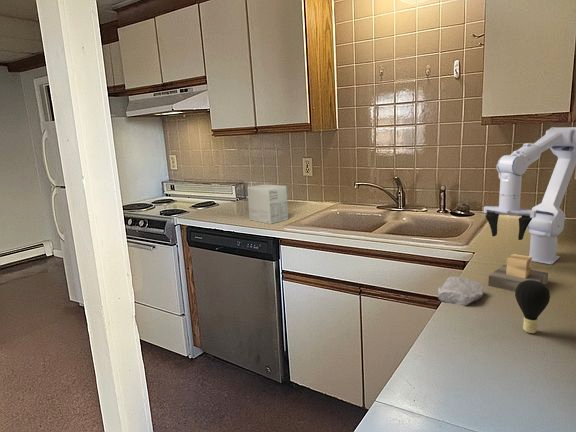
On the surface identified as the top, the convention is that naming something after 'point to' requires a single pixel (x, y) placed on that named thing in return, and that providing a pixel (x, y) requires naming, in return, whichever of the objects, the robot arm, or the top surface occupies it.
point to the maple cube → (519, 266)
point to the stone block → (460, 291)
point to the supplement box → (268, 203)
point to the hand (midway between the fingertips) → (507, 237)
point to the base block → (513, 279)
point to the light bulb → (532, 302)
